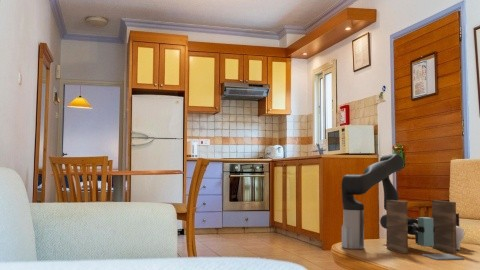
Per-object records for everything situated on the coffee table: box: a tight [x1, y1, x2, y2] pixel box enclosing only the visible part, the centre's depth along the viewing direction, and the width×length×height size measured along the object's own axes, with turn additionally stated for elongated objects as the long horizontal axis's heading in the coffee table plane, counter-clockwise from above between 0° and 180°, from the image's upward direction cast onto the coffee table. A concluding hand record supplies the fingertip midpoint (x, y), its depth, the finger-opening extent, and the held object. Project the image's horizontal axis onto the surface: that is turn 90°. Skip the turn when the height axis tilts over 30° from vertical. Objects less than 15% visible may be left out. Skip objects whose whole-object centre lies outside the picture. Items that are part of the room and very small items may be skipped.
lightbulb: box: [456, 225, 466, 251], centre depth 229 cm, size 6×6×11 cm
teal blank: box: [417, 216, 434, 247], centre depth 222 cm, size 4×5×12 cm
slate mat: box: [421, 253, 465, 261], centre depth 207 cm, size 12×11×1 cm
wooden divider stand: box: [385, 199, 457, 255], centre depth 226 cm, size 24×16×22 cm, turn 101°
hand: (429, 229), depth 219 cm, fingers closed on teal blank, 4 cm apart
